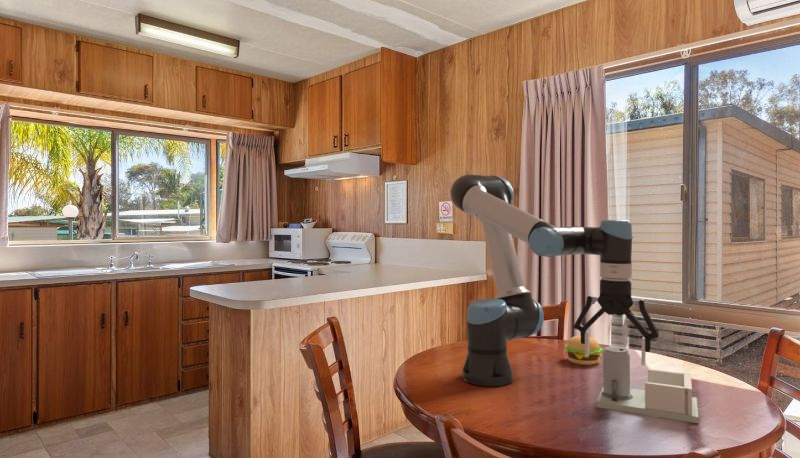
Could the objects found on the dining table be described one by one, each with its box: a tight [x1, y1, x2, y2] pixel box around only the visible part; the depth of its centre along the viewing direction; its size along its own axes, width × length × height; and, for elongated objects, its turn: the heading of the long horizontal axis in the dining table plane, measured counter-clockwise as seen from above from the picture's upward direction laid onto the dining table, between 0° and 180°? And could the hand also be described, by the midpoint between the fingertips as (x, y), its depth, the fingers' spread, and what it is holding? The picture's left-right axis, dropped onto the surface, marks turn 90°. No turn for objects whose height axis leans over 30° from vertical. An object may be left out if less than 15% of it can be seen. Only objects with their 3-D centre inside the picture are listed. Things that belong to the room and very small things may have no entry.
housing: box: [644, 368, 693, 415], centre depth 122 cm, size 10×14×6 cm
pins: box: [612, 380, 618, 401], centre depth 127 cm, size 1×10×5 cm, turn 150°
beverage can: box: [602, 346, 631, 398], centre depth 127 cm, size 6×6×12 cm
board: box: [595, 387, 700, 425], centre depth 124 cm, size 22×14×2 cm, turn 60°
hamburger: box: [564, 334, 603, 366], centre depth 165 cm, size 12×12×9 cm
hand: (614, 360), depth 128 cm, fingers open, 13 cm apart
